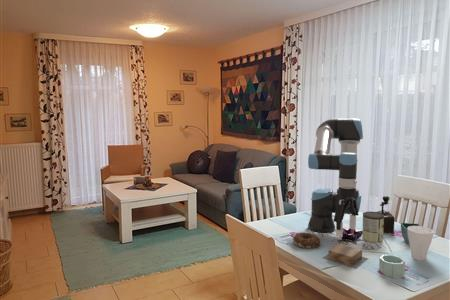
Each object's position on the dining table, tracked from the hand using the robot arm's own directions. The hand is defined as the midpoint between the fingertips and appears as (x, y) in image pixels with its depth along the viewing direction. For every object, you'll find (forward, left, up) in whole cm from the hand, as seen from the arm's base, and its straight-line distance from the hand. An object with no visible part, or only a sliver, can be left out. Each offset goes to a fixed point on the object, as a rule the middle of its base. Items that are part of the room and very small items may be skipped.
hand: (346, 232), depth 156 cm
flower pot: (+16, +42, -13) cm, 47 cm away
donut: (-22, +4, -14) cm, 26 cm away
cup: (+24, +25, -13) cm, 37 cm away
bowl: (+20, +1, -13) cm, 24 cm away
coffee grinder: (-3, +53, -13) cm, 55 cm away
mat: (0, 0, -13) cm, 13 cm away
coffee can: (0, +32, -13) cm, 35 cm away
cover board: (0, 0, -13) cm, 13 cm away
